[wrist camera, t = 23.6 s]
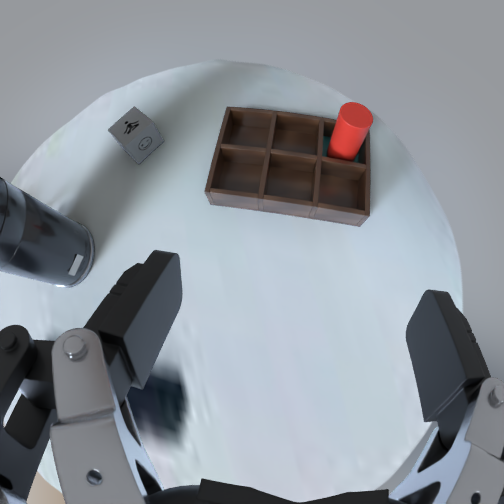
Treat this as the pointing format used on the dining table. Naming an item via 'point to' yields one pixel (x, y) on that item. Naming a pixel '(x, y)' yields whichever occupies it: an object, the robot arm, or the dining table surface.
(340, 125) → the red cylinder
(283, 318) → the dining table surface
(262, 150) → the grid
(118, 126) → the dice cube
